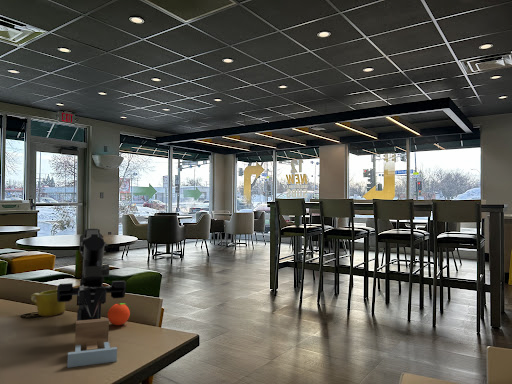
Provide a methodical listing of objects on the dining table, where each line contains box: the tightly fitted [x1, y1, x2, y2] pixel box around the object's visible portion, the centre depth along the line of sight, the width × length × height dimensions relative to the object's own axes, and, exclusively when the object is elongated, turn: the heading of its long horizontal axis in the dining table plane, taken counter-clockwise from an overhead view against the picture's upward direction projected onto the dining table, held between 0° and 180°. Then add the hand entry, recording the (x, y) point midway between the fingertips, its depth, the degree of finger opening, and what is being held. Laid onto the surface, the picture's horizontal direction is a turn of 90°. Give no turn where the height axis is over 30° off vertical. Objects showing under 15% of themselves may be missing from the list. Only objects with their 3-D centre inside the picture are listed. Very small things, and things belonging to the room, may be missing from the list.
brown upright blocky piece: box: [74, 317, 110, 351], centre depth 100 cm, size 9×8×8 cm
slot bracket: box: [66, 341, 118, 368], centre depth 97 cm, size 6×11×3 cm, turn 114°
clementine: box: [107, 302, 132, 326], centre depth 128 cm, size 8×7×7 cm
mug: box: [30, 289, 66, 318], centre depth 141 cm, size 12×10×10 cm
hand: (92, 316), depth 110 cm, fingers closed
